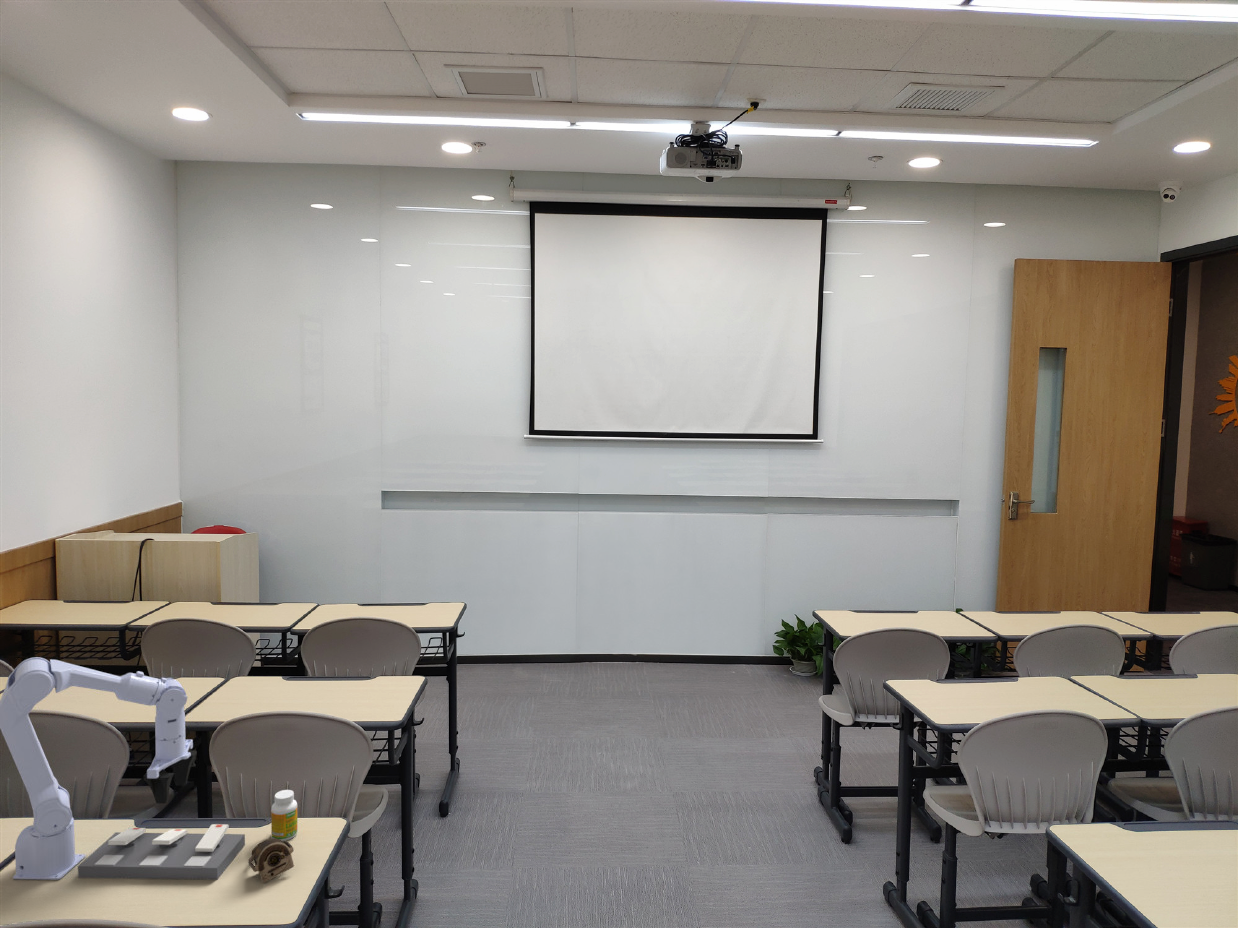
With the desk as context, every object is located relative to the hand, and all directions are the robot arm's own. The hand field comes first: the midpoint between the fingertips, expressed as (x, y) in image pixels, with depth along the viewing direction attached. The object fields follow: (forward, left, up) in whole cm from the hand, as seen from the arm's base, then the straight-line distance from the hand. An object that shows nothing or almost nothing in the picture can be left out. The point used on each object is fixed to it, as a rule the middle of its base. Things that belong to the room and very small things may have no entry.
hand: (171, 793), depth 169 cm
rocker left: (-5, -8, -6) cm, 11 cm away
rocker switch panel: (+4, -10, -9) cm, 14 cm away
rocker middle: (+4, -8, -6) cm, 11 cm away
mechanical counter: (+27, -11, -10) cm, 31 cm away
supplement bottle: (+25, 0, -10) cm, 27 cm away
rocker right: (+13, -8, -6) cm, 16 cm away
